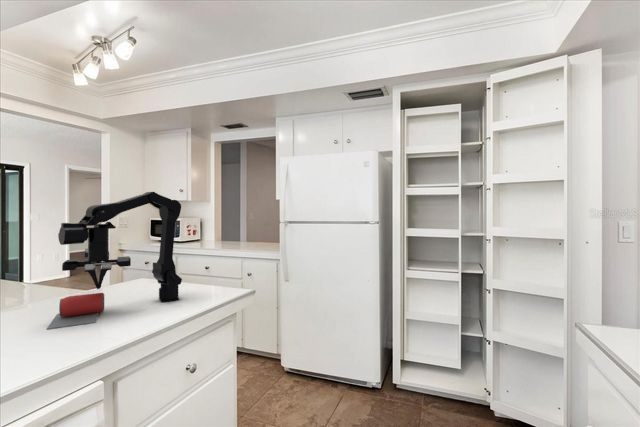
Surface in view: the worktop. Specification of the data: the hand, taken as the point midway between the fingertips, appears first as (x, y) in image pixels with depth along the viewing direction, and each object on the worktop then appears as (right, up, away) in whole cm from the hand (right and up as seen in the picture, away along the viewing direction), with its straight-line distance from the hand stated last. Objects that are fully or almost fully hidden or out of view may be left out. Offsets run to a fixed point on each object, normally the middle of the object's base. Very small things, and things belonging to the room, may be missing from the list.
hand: (98, 288), depth 110 cm
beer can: (0, -5, +4) cm, 7 cm away
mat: (-5, -9, -3) cm, 11 cm away
